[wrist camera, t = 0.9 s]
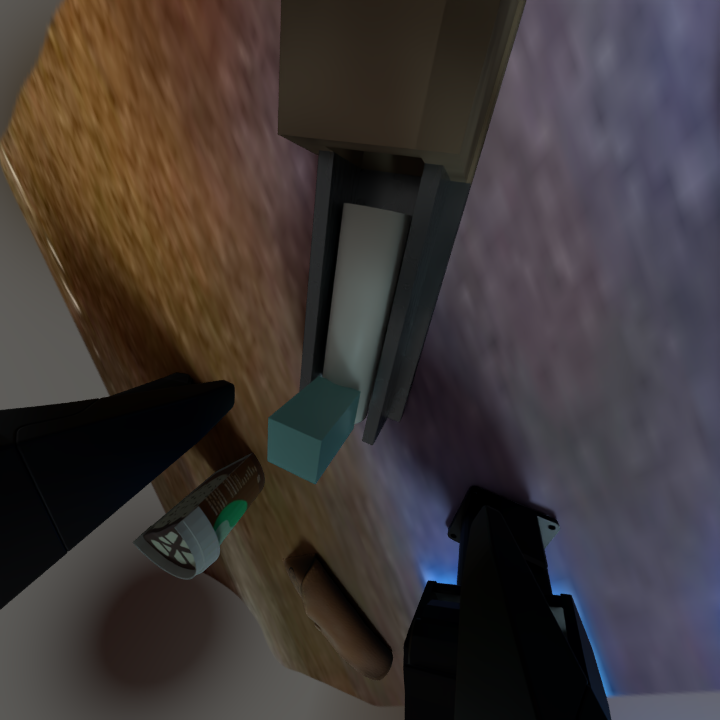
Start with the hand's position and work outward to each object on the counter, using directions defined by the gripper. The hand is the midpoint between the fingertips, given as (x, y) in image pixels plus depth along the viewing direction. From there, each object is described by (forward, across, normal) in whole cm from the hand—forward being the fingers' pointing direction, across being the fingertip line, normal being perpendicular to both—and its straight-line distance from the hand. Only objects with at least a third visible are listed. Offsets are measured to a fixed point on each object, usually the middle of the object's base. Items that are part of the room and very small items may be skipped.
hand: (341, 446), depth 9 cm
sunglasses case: (+13, -1, +40) cm, 42 cm away
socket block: (+12, +4, -13) cm, 18 cm away
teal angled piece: (+11, +3, -1) cm, 11 cm away
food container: (+13, +14, +25) cm, 32 cm away
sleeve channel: (+12, +4, -1) cm, 13 cm away
